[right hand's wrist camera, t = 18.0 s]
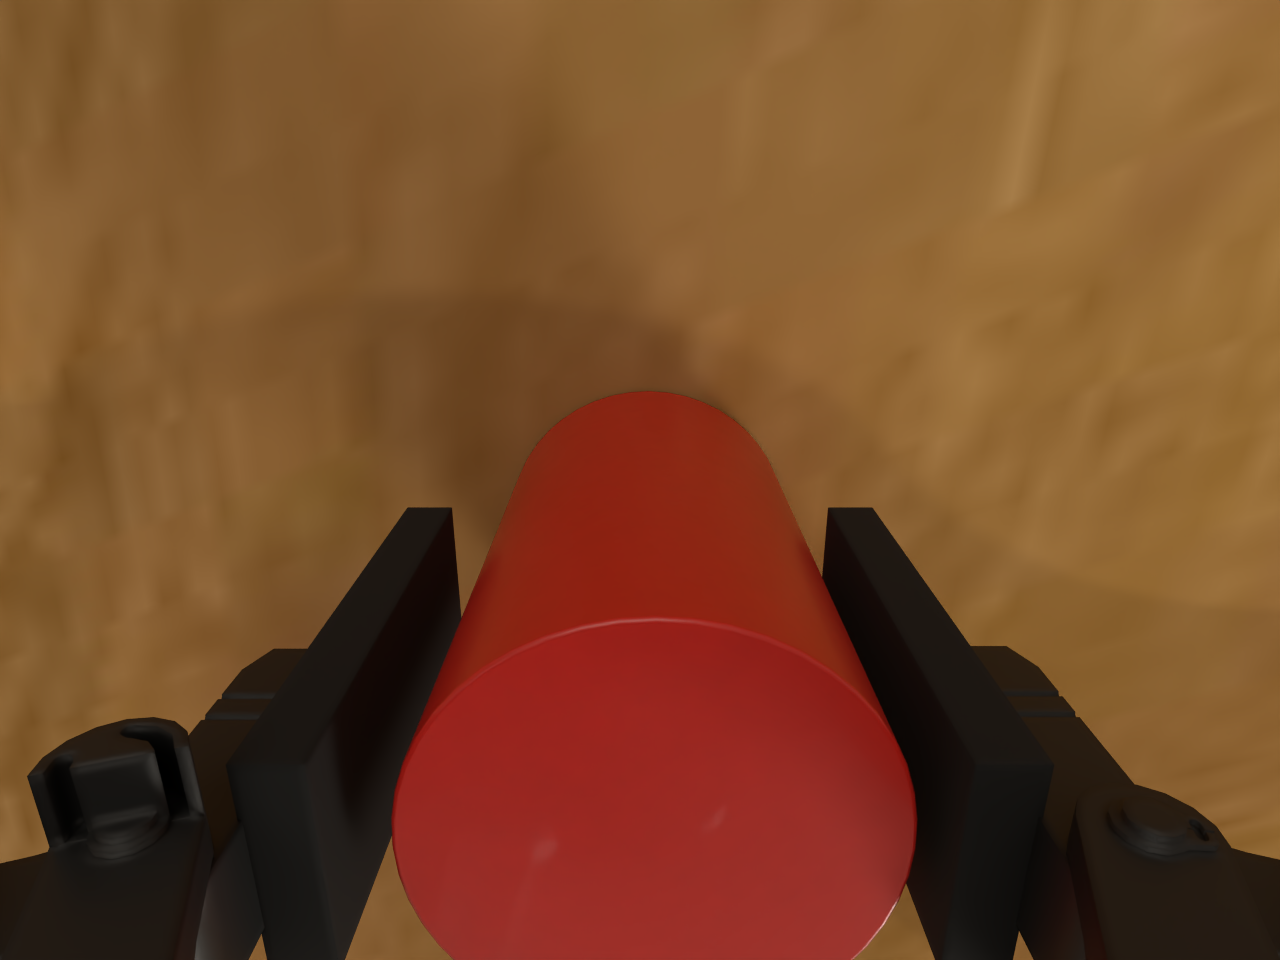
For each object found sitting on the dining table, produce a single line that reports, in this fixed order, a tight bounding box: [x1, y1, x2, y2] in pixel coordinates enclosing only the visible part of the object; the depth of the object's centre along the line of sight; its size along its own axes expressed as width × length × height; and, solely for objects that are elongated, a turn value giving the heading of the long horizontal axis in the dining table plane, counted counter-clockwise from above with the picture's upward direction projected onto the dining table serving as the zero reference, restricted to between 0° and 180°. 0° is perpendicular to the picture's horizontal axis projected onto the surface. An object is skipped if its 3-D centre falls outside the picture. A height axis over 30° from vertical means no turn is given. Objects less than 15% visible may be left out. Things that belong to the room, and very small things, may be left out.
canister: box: [391, 391, 917, 960], centre depth 13 cm, size 6×6×9 cm
